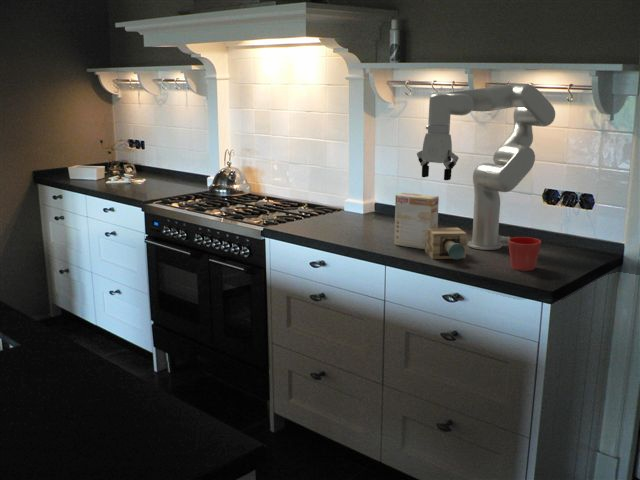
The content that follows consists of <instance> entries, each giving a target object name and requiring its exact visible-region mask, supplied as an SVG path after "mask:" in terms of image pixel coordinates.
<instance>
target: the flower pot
mask: <svg viewBox="0 0 640 480" xmlns="http://www.w3.org/2000/svg"><path fill="white" fill-rule="evenodd" d="M507 243H508V250H509V251H508V253H509V260H510V267H511V269H513V270H516V271H520V272H527V271H528V272H530V271H534V270H535V269H536V266H537V262H538V258H539V257H538V256H539V252H540V250H541V249H540V248H541V244H542V240H541V239H538V238H534V237H527V236H514V237H510V239H509V240H508V242H507Z"/></svg>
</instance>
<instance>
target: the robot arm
mask: <svg viewBox="0 0 640 480" xmlns="http://www.w3.org/2000/svg"><path fill="white" fill-rule="evenodd" d="M428 103H429V104H428V119H427V121H428V124H427V125H426V126H425V129H426V130H427V132H426V133H425V136H424V139H423V142H422V143H423V144H422V149H421V150H420V151H418V152H417V153H416V155H417V156H416V157H417V158H418V163H420V166H421V178H428V177H429V172H430V166H429V164H430V163H434V164H443V165H444V167H445V168H444V170H443V171H444V172H443V180H444V181H450V180H451V179H452V171H453V170H452V169H454V167H455V166H456V165H457V162H458V161H459V156H458V155H457V154H455V153H454V152H453V144H452V143H453V142H452V135H451V134H450V130H451V129H450V127H451V115H452V116H466V115H468V114H470V113H471V112H483V113H484V112H493V111H497V110H506V109H510V108H511V109H512V108H514V110H513V128H512V131H511V133H510V135H509V136H508V137H507V138H506V140H505V141H503V142H502V144H501V145H500V146H499V147H498V148H497V150H496V151H495V152H494V154H493V159H492V160H493V163H489V162H488V163H487V162H486V163H481V164H479V165H477V166H476V167H475V168H474V170H473V175H472V181H473V182H472V183H473V191H474V202H473V218H472V220H473V222H472V235H471V240H469V241H468V242H467V246H468V247H469V248H471V249H476V250H483V251H492V250H493V251H494V250H499V249H501V248H503V247H502V246H503V244H502V243H504V242H505V243H506V242H507V243H508V240H509V239H510V238H511V237H510V236H504V235H500V234H499V230H500V229H499V226H500V209H501V195H500V193H509V192H511V191H513V190H514V189H515V188H516V187H517V186H518V185H519V184H520V183H521V181H522V180H524V178H525V177H526V176H527V175H528V173H530V171H531V170H532V169H533V166H534V165H535V161H536V154H535V151H534V149H532V148H531V146H532V143H533V141H534V134H533V126H534V127H548V126H550V125H551V124H553V122H554V120H555V118H556V110H555V107H554V106H553V104H552V103H551V102H550V101H549V100H548V98H546V97H545V96H544V94H543V93H542V92H541V91H539V89H538V88H536V87H535V86H533V85H532V84H528V83H527V84H526V83H525V84H523V83H510V84H504V85H503V84H502V85H496V86H488V87H480V88H473V89H468V90H467V89H466V90H457V91H450V92H444V93H432V94H430V96H429V101H428Z"/></svg>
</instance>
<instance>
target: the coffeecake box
mask: <svg viewBox="0 0 640 480" xmlns="http://www.w3.org/2000/svg"><path fill="white" fill-rule="evenodd" d="M439 202H440V199H439V196H438V195H437V196H436V195H427V194H418V193H407V192H402V193H399V194H396V195H395V203H394V204H395V205H394V206H395V207H394V209H395V210H394V211H395V212H394V235H393V236H394V238H393V241H394V242H393V246H401V247H407V248H408V247H409V248H415V249H420V250H425V241H426V228H439V225H438V224H439V223H438V222H439Z"/></svg>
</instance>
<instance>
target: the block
mask: <svg viewBox="0 0 640 480" xmlns="http://www.w3.org/2000/svg"><path fill="white" fill-rule="evenodd" d="M467 233H468V232H465V231H464V230H462V229H461V228H459V227H458V226H457V227H437V228H426V241H425V249H424V252H425V253H426V255H428V256H429V257H430V258H431V259H432V260H437V259H439V260H442V259H449V260H450V259H452V258H451V257H450V256H449V254H448V252H447V251H446V250H445V249H444V248H443V241H444V240H445V239H450V240H452V241H453V242H454V243H459V244H461V245H462V246H463V247H464V249H465V253H464V255H463V257H462V258H461V259H466V256H467V253H466V252H467V238H468V237H467V236H468V234H467Z"/></svg>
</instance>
